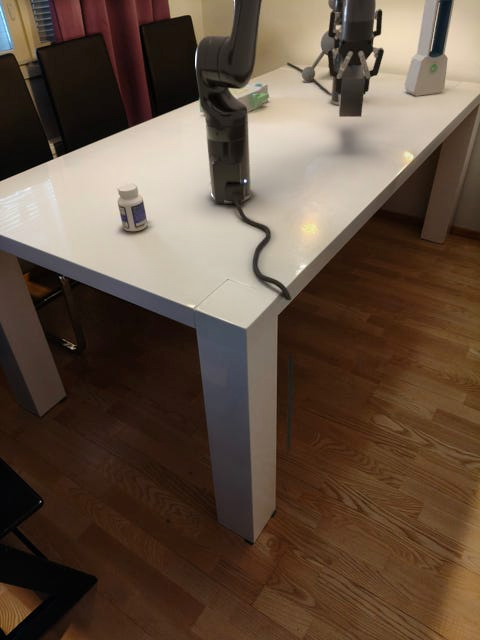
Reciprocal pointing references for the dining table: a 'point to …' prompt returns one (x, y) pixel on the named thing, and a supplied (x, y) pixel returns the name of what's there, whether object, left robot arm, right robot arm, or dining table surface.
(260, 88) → the decorative block
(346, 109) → the bar
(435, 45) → the electronic device
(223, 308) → the dining table surface
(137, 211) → the pill bottle
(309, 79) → the molecular model
